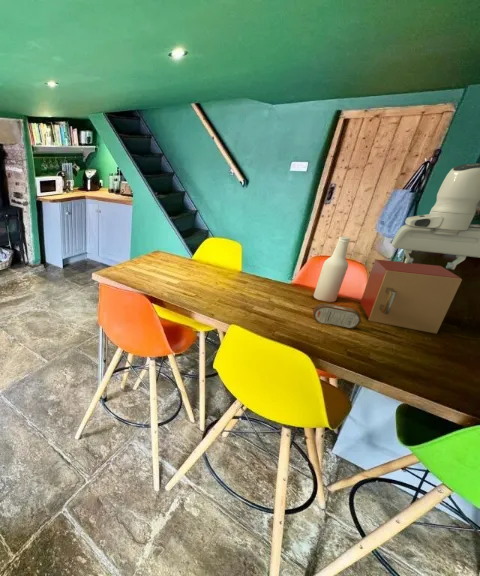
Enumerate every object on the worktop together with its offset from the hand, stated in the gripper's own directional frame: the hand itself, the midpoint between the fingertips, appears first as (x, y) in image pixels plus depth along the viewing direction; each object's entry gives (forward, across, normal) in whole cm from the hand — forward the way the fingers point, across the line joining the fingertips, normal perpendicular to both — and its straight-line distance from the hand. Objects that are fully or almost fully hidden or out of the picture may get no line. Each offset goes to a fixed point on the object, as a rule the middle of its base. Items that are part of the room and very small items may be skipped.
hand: (428, 266), depth 95 cm
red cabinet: (+29, -4, -28) cm, 40 cm away
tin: (+30, +17, -6) cm, 35 cm away
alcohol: (+30, +20, -34) cm, 50 cm away
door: (+29, -5, -16) cm, 34 cm away
